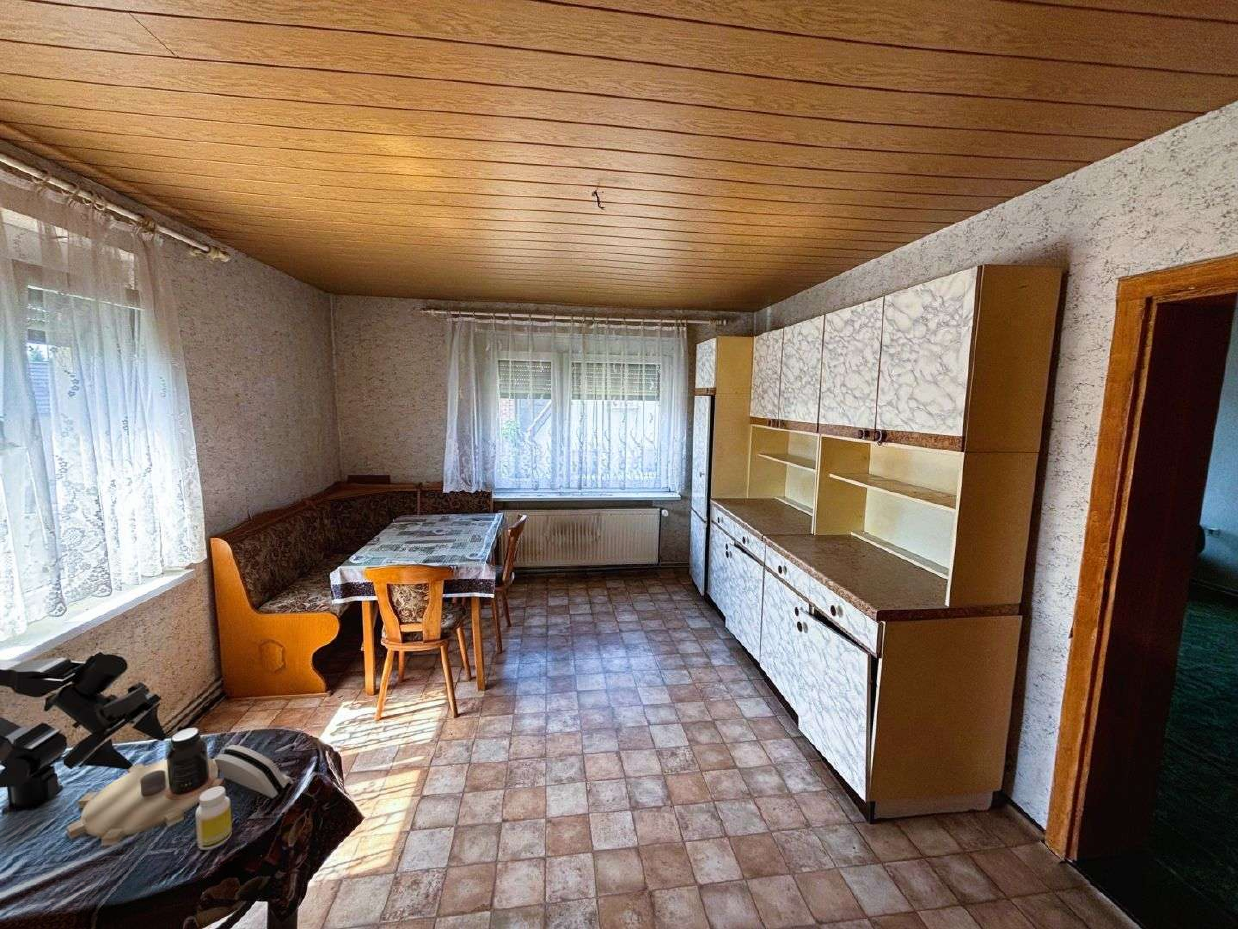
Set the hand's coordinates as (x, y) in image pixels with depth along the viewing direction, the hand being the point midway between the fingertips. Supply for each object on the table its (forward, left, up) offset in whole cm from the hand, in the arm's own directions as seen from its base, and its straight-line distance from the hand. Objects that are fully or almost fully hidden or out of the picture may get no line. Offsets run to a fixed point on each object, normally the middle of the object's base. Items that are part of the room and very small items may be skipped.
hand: (148, 753), depth 112 cm
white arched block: (+20, 0, -10) cm, 22 cm away
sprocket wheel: (+1, -1, -9) cm, 10 cm away
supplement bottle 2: (+20, -16, -10) cm, 27 cm away
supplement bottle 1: (+8, -1, -8) cm, 11 cm away
